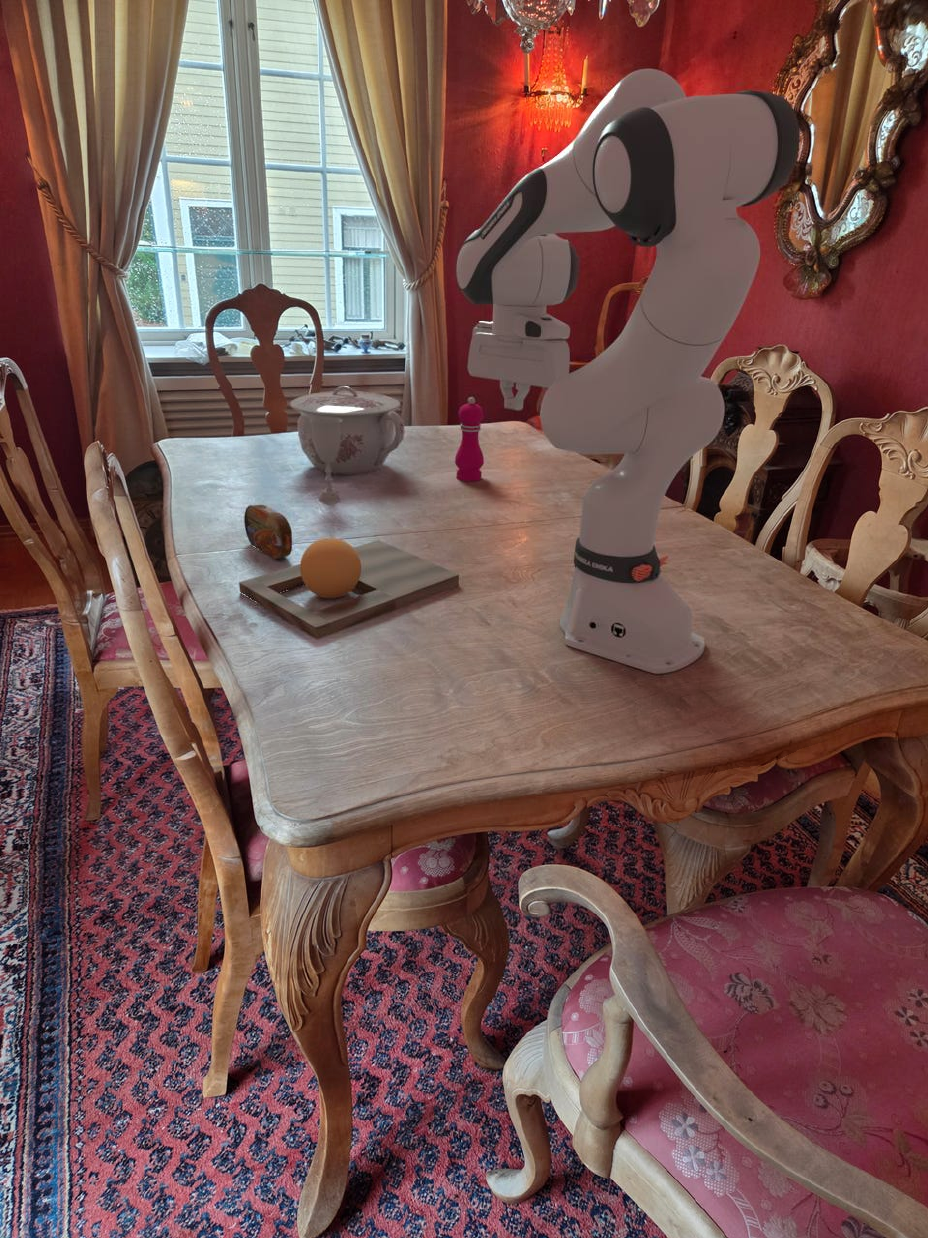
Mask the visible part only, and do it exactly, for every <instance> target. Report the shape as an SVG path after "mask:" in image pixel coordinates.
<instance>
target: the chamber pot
mask: <svg viewBox="0 0 928 1238" xmlns="http://www.w3.org/2000/svg"><path fill="white" fill-rule="evenodd" d="M401 405H402V404H401V402H400V401H399V400H398V399H396V398H394V397H392V396H388V395H386V394H380V393H377V392H370V391H369V392H368V391H361V390H354V389H353V388H352V387H350V386H348V385H340V386H337V387H336V388H335V389H334V390H331V391H329V390H328V391H321V392H320V391H319V392H315V393H308V394H305V395H302V396H299V397H295V398H293V400H291V401H290V402H289V407H291V408H292V409H293V410H295V411H297V412H299V413H300V416H299V417H298V419H297V433H298V434H297V435H298V439H299V443H300V446H301V450H302V451H303V453H304V454H305V456H306V457H307V459H308V461H309V462H310V463H311V464H312V465H313V466H314V467H315V468H316V469H318V470H320V471H323V472H325V470H326V463H325V462H323V461H321V459H320V457H319V455H318V453H317V451H316V449H315V447H314V444H313V437H312V425H311V423H310V421H309V420H310V419H311V418H315V417H335V418H339V419H342V422H341V424H340V434H341V444H340V447H339V451H338V453H337V455H336V458H335V460H334V461H333V462H331V463H330V468H331V470H332V472H331V475H336V474H337V475H338V476H356V475H357V476H358V474H359V475H363V474H367V473H370V472H373V471H376V470H378V469H379V468H381V467H382V466H383V464H384V463H385V462H386V460H387V458H388V457H389V455H390V453H392V452H394V451H395V450H396V449H398V447H399V446H400V445H401V443H402V442H403V440H404V439H405V438H404V437H405V423H404V421H403V419H402V418H401V416H400V415H399V414H398V413H397V412H396V410H398V409H399V408H400V407H401Z"/></svg>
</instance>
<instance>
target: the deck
mask: <svg viewBox="0 0 928 1238" xmlns="http://www.w3.org/2000/svg"><path fill="white" fill-rule="evenodd" d="M353 548H354V549H355V551H356V552H357V554H358V556H359V558H360V562H361V575H360V578H359V581H358V583H357V584H356V586H355V587H354V588H353V589H355V590H357V591H358V592H360V593H363V594H362V595H361V594H360V595H359V596H356V597H352V598H350V599H347V600H345V601H342V602H338V603H336V604H333V605H330V606H328V607H325V608H322V609H319V610H316V611H314V612H312V611H310V610H308V609H307V608H305V607H303V606H301V605H300V604H299V603H296V602H294V601H293V600H291V599H289V598H288V597H285V596H284V595H282V593H280V592H283V591H286V590H289V591H293V590H295V588H296V589H298V588H297V587H299V588H302V587H304V586H303V585H305V583H304V582H303V579H302V577H301V573H300V563H297V564H294V565H292V566H289V567H285V568H281V569H278V570H275V571H272V572H269V573H266V574H262V575H260V576H259V575H258V576H255V577H252V578H248V579H246V580H243V581H239V582H238V584H239V585H238V586H239V593H240V592H241V593H243V594H245V595H246V596H248V597H249V598H251V599H252V600H254V601H256V602H257V603H258V604H257V603H256V602H255V603H256V604H257V605H259V604H260V605H259V606H261V607H262V606H263V608H264V609H266V610H267V611H269V612H271V613H272V614H274V615H276V616H277V617H279V618H280V619H282V620H284V621H285V620H286V622H288V623H289V624H291V625H292V626H294V627H296V628H297V629H299V630H301V631H302V632H304V633H305V634H307V635H309V636H310V637H312V638H314V639H315V640H320V639H321V638H325V637H326V636H329V635H330V636H331V635H332V634H334V633H338V632H339V631H342V630H343V631H344V629H348V628H351V627H353V626H356V625H359V624H361V623H363V622H366V621H368V620H371V619H373V618H374V619H375V618H376V617H379V616H381V615H384V614H387V613H390V612H392V611H395V610H398V609H400V608H403V607H405V606H407V605H410V604H413V603H415V602H417V601H421V600H424V599H426V598H428V597H429V598H430V597H431V596H434V595H437V594H440V593H441V592H444V591H447V590H449V589H452V588H455V587H457V586H459V584H460V574H459V573H456V572H454V571H451V570H450V569H447V568H444V567H442V566H440V565H439V564H435V563H432V562H431V561H428V560H425V559H423V558H422V557H418V556H417V555H415V554H412V553H410V552H407V551H406V550H405V551H404V550H403V549H400V548H398V547H395V546H393V545H391V544H388V543H387V542H384V541H381V540H380V539H378V540H375V541H371V542H367V543H365V544H362V545H361V544H360V545H359V546H355V547H354V546H353ZM301 586H302V587H301ZM305 586H306V585H305ZM286 592H287V591H286ZM241 593H240V594H241ZM279 593H280V594H279ZM283 593H284V592H283ZM246 596H245V597H246ZM249 598H248V599H249ZM251 599H250V600H251ZM252 600H251V601H252ZM254 601H253V602H254Z"/></svg>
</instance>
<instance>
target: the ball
mask: <svg viewBox="0 0 928 1238" xmlns="http://www.w3.org/2000/svg"><path fill="white" fill-rule="evenodd" d="M299 564H300V573H301V577H302V579H303V582H304V583H305V587H306V588H307V589H309V590H310V591H311V592H312V593H313V594H314V595H317V596H319V597H321V598H326V599H337V598H341V597H344V596H345V595H347V594H349V593H351V591H353V589H355V588H354V587H355V586H356V584H357V583H358V581H359V578H360V575H361V562H360V558H359V556H358V554H357V552H356V551H355V549H354V546H352V545H351V544H350V543H349V542H347V541H345V540H343V539H341V538H340V539H339V538H337V537H324V538H321V539H318V540H316V541H314V542H313V543H311V544H310V545H309V546H308V547H307V548H306V549H305V550H304V552H303V554H302V557H301V559H300V563H299Z"/></svg>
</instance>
